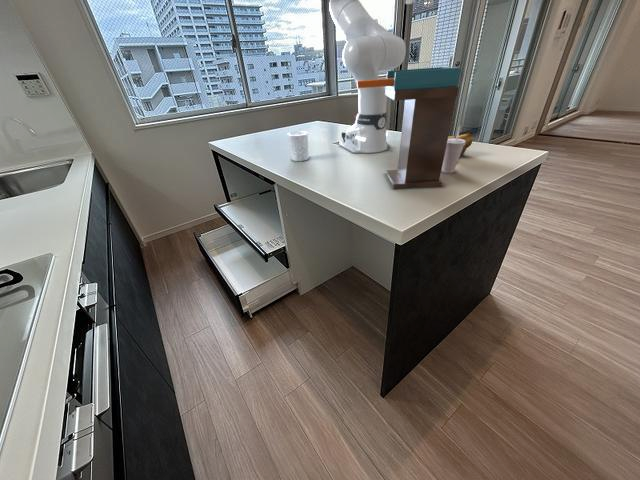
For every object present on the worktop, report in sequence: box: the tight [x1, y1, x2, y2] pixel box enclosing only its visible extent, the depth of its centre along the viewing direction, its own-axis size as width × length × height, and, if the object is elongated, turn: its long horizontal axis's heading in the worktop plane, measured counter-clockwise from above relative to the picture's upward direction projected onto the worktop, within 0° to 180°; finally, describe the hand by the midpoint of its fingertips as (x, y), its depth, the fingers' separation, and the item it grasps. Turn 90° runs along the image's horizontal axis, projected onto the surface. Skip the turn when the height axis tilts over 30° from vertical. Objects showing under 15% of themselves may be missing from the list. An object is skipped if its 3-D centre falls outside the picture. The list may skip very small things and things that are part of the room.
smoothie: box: [441, 125, 466, 174], centre depth 82 cm, size 6×6×14 cm
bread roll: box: [448, 133, 474, 157], centre depth 97 cm, size 13×10×8 cm
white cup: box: [287, 130, 310, 162], centre depth 105 cm, size 8×8×10 cm
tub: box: [385, 66, 462, 91], centre depth 67 cm, size 15×11×4 cm
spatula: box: [356, 78, 395, 89], centre depth 67 cm, size 20×6×2 cm, turn 88°
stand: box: [385, 86, 460, 190], centre depth 75 cm, size 16×13×26 cm
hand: (419, 5), depth 66 cm, fingers open, 8 cm apart
